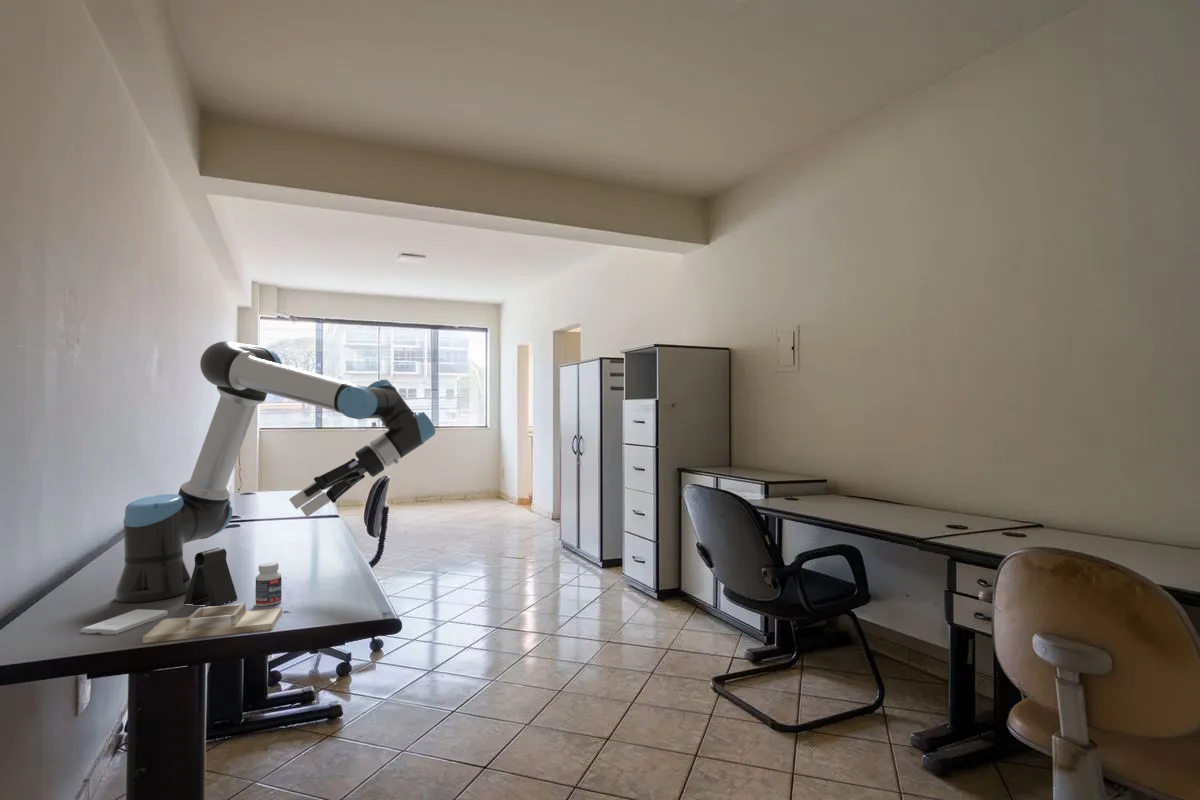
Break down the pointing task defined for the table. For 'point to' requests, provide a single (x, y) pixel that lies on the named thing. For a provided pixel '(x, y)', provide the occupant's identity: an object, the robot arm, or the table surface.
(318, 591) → the table surface
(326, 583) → the table surface
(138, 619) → the external hard drive
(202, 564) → the phone stand
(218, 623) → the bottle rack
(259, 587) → the pill bottle
